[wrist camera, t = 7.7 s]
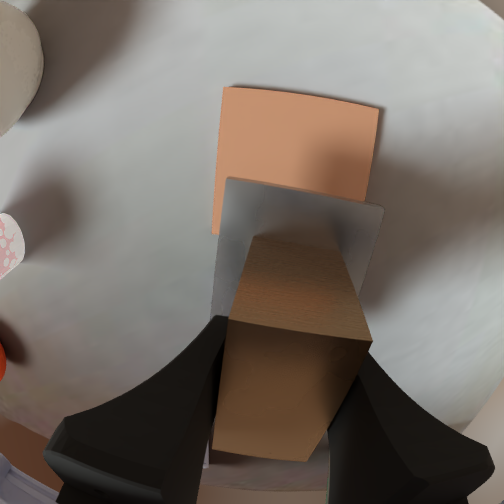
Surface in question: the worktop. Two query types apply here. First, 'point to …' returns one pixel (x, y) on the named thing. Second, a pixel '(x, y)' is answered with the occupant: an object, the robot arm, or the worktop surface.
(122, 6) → the worktop surface
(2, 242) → the beverage cup
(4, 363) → the clementine
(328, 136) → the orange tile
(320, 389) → the tan block on plate
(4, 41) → the lidded jar
